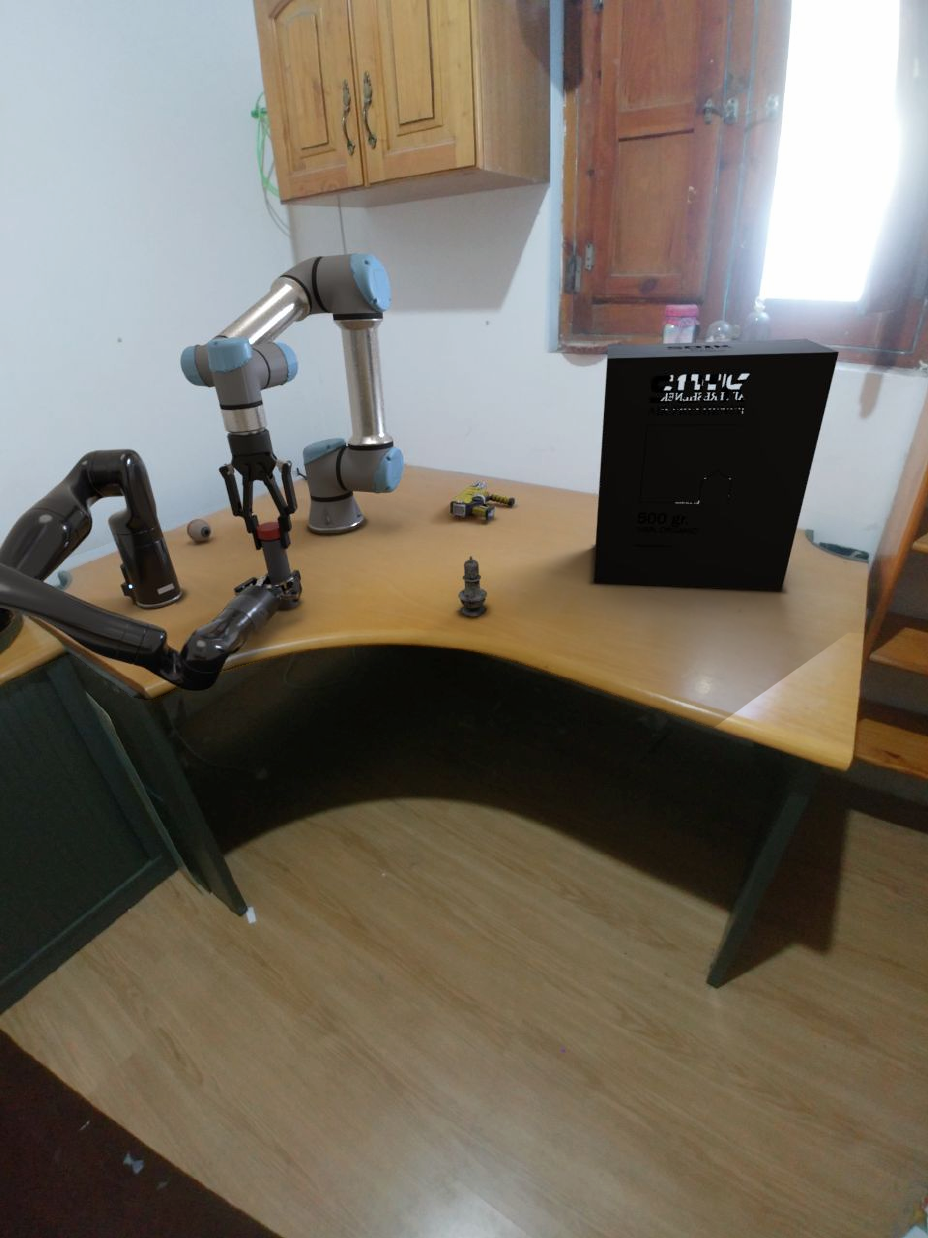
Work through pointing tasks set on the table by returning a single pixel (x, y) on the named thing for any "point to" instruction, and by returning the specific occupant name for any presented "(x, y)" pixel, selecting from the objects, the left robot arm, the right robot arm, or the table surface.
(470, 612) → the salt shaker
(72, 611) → the left robot arm
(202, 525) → the eyeball
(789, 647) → the table surface
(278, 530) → the lid
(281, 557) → the bottle
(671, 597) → the table surface
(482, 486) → the toy gun
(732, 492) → the cardboard box
